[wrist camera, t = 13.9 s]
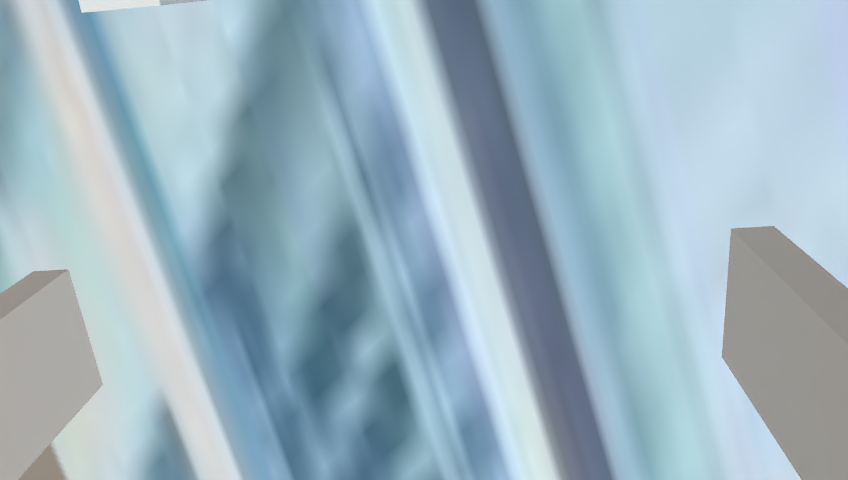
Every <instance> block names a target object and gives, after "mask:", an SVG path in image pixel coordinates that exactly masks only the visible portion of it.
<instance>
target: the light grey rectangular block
mask: <svg viewBox="0 0 848 480" xmlns="http://www.w3.org/2000/svg"><path fill="white" fill-rule="evenodd" d="M196 1H205V0H79V4H80V8H81V12H82V13H84V12H94V11H105V10H116V9H126V8H137V7H147V6H158V5H168V4H177V3H186V2H196Z"/></svg>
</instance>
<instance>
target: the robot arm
mask: <svg viewBox="0 0 848 480" xmlns="http://www.w3.org/2000/svg"><path fill="white" fill-rule="evenodd" d="M722 358H723V359H724V361H725V362H726V364H727V365H728V367H729V369H730V370H731V372H732V373H733V375H734V376H735V378H736V379H737V381H738V382H739V384H740V385H741V387H742V389H743V390H744V392H745V393H746V395H747V396H748V398H749V399H750V401H751V402H752V404H753V406H754V407H755V409H756V410H757V412H758V413H759V415H760V416H761V418H762V419H763V421H764V422H765V424H766V426H767V427H768V429H769V430H770V432H771V433H772V435H773V436H774V438H775V439H776V441H777V443H778V444H779V446H780V447H781V449H782V450H783V452H784V453H785V455H786V456H787V458H788V459H789V461H790V463H791V464H792V466H793V467H794V469H795V470H796V472H797V473H798V475H799V476H800V478H801V480H848V288H846V287H845V286H844V285H843V284H842V283H840V282H839V281H838V280H837V279H836V278H835V277H833V276H832V275H831V274H830V273H829V272H827V271H826V270H825V269H824V268H823V267H822V266H820V265H819V264H818V263H817V262H816V261H814V260H813V259H812V258H811V257H810V256H809V255H807V254H806V253H805V252H804V251H803V250H801V249H800V248H799V247H798V246H797V245H795V244H794V243H793V242H792V241H791V240H790V239H788V238H787V237H786V236H785V235H784V234H782V233H781V232H780V231H779V230H778V229H777V228H775V227H774V226H768V227H752V228H736V229H731V238H730V252H729V266H728V280H727V294H726V308H725V321H724V335H723V349H722ZM102 385H103V384H102V380H101V377H100V374H99V370H98V367H97V364H96V360H95V357H94V354H93V350H92V347H91V344H90V340H89V337H88V334H87V330H86V327H85V324H84V320H83V317H82V314H81V310H80V307H79V304H78V300H77V297H76V294H75V290H74V287H73V284H72V281H71V277H70V274H69V271H68V270H51V271H35V272H32V273H30V274H29V275H27V276H26V277H24V278H23V279H22V280H20V281H19V282H17V283H16V284H14V285H13V286H11V287H10V288H8V289H7V290H5V291H4V292H2V293H1V294H0V480H18V479H19V478H20V477H21V475H22V474H23V473H24V472H25V471H26V470H27V469H28V468H29V466H30V465H31V464H32V463H33V462H34V461H35V460H36V459H37V457H38V456H39V455H40V454H41V453H42V452H43V451H44V450H45V449H46V447H47V446H48V445H49V444H50V443H51V442H52V441H53V440H54V439H55V437H56V436H57V435H58V434H59V433H60V432H61V431H62V430H63V428H64V427H65V426H66V425H67V424H68V423H69V422H70V421H71V420H72V418H73V417H74V416H75V415H76V414H77V413H78V412H79V411H80V409H81V408H82V407H83V406H84V405H85V404H86V403H87V402H88V401H89V399H90V398H91V397H92V396H93V395H94V394H95V393H96V392H97V390H98V389H99V388H100V387H101V386H102Z"/></svg>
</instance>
